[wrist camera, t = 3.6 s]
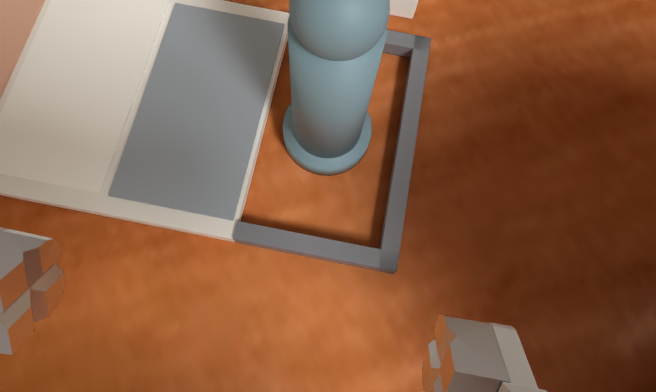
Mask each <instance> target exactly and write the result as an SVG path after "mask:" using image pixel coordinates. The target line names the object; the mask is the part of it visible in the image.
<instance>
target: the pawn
mask: <svg viewBox="0 0 656 392" xmlns="http://www.w3.org/2000/svg"><path fill="white" fill-rule="evenodd" d="M389 13H390V0H289V14H290V16H289V19H288V29H287V30H288V47H289V65H290V83H291V101H292V103H291V104H290V105H289V107H288V109H287V111H286V113H285V116H284V119H283V137H284V144H285V147H286V150H287V152H288V154H289V155H290V157H291V158H292V160H293V161H294V162H295V163H296V164H297V165H298V166H300V167H301V168H303V169H304V170H306V171H308V172H311V173H314V174H317V175H328V176H330V175H337V174H341V173H344V172H346V171H348V170H350V169H352V168H353V167H354V166H356V165H357V164H358V163H359V162H360V160H361V159H362V158H363V156H364V155H365V153H366V150H367V148H368V145H369V142H370V138H371V132H372V124H371V119H370V116H369V113H368V111H367V109H368V105H369V101H370V98H371V94H372V90H373V86H374V83H375V79H376V75H377V71H378V67H379V64H380V60H381V56H382V52H383V49H384V45H385V41H386V37H387V23H388V19H389Z"/></svg>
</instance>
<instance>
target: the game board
mask: <svg viewBox="0 0 656 392" xmlns="http://www.w3.org/2000/svg"><path fill="white" fill-rule="evenodd" d="M289 16H290V14H289V13H286V12H281V11H276V10H271V9H265V8H260V7H255V6H250V5H245V4H239V3H234V2H229V1H224V0H0V195H1V196H6V197H11V198H16V199H21V200H26V201H31V202H36V203H41V204H46V205H51V206H56V207H61V208H66V209H71V210H76V211H81V212H86V213H91V214H96V215H101V216H106V217H111V218H116V219H121V220H126V221H131V222H136V223H141V224H146V225H151V226H156V227H161V228H166V229H171V230H176V231H181V232H186V233H191V234H196V235H201V236H206V237H211V238H216V239H221V240H226V241H232V242H237V243H242V244H247V245H252V246H257V247H262V248H267V249H272V250H277V251H282V252H287V253H292V254H297V255H302V256H307V257H312V258H317V259H322V260H327V261H332V262H337V263H342V264H347V265H352V266H357V267H362V268H367V269H372V270H377V271H382V272H387V273H392V274H394V273H395V272H396V271H397V266H398V259H399V252H400V245H401V239H402V232H403V225H404V218H405V211H406V205H407V198H408V191H409V184H410V178H411V171H412V164H413V157H414V151H415V144H416V137H417V130H418V123H419V117H420V110H421V103H422V96H423V90H424V83H425V76H426V69H427V62H428V56H429V49H430V42H431V38H427V37H422V36H417V35H412V34H406V33H401V32H396V31H391V30H387V37H386V41H385V45H384V49H383V53H388V54H393V55H398V56H404V57H409V58H410V61H409V67H408V73H407V80H406V86H405V92H404V98H403V104H402V111H401V117H400V123H399V129H398V135H397V142H396V148H395V154H394V160H393V166H392V173H391V179H390V185H389V191H388V197H387V204H386V210H385V216H384V222H383V228H382V235H381V241H380V247H379V249H376V248H371V247H366V246H361V245H356V244H351V243H346V242H341V241H336V240H331V239H326V238H321V237H316V236H311V235H306V234H301V233H296V232H291V231H286V230H281V229H276V228H271V227H266V226H261V225H256V224H251V223H245V222H241V219H242V215H243V211H244V207H245V203H246V199H247V195H248V191H249V187H250V184H251V180H252V176H253V172H254V168H255V164H256V160H257V156H258V153H259V149H260V145H261V141H262V137H263V133H264V129H265V125H266V121H267V118H268V114H269V110H270V106H271V102H272V98H273V94H274V90H275V86H276V83H277V79H278V75H279V71H280V67H281V63H282V59H283V55H284V51H285V48H286V44H287V40H288V30H287V29H288V19H289Z"/></svg>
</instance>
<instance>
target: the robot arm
mask: <svg viewBox="0 0 656 392" xmlns="http://www.w3.org/2000/svg"><path fill="white" fill-rule="evenodd" d="M61 257H62V252H61V246H60V243H59V242H58V241H57V240H55V239H53V238H49V237H44V236H39V235H35V234H30V233H26V232H21V231H16V230H12V229H6V228H1V227H0V353H2V354H8V355H13V354H14V353H15V352H16V351H17V350H18V349H19V348H20V347H21V345H22V344H23V343H24V342H25V341H26V340H27V339H28V338H29V337H30V336H31V335H32V334H33V333H34V331H35V325H34V322H36V321H38V320H41V319H43V318H45V317H48V316H49V315H50V314H51V313H52V312H53V311H54V309H55V308H56V307H57V306H58V304H59V302H60V300H61V297H62V295H63V293H64V287H65V277H64V272H63V271H62V270H61V269H60V267H59V266H58V265H57V264H56V262H57V261H58V260H59V259H60V258H61ZM434 333H435V340H433V341H432V342H430V343H429V344H428V346H427V349H426V352H425V356H424V362H423V368H422V383H423V390H424V391H425V392H547V391H546V390H542V389H538V386H537V383H536V381H535V378H534V375H533V373H532V370H531V368H530V365H529V362H528V360H527V357H526V355H525V352H524V349H523V347H522V344H521V341H520V339H519V336H518V334H517V331H516V329H515V328H514V327H513V326H509V325H503V324H497V323H491V322H488V323H486V322H481V321H476V320H471V319H466V318H460V317H455V316H450V315H444V314H440V316H439V317H438V319H437V321H436V324H435V326H434Z"/></svg>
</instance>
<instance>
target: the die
mask: <svg viewBox="0 0 656 392" xmlns="http://www.w3.org/2000/svg"><path fill="white" fill-rule="evenodd" d="M418 1H419V0H390V13H389V15H395V16H400V17H405V18H410V19H413V16H414V13H415V10H416V7H417V4H418Z"/></svg>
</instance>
